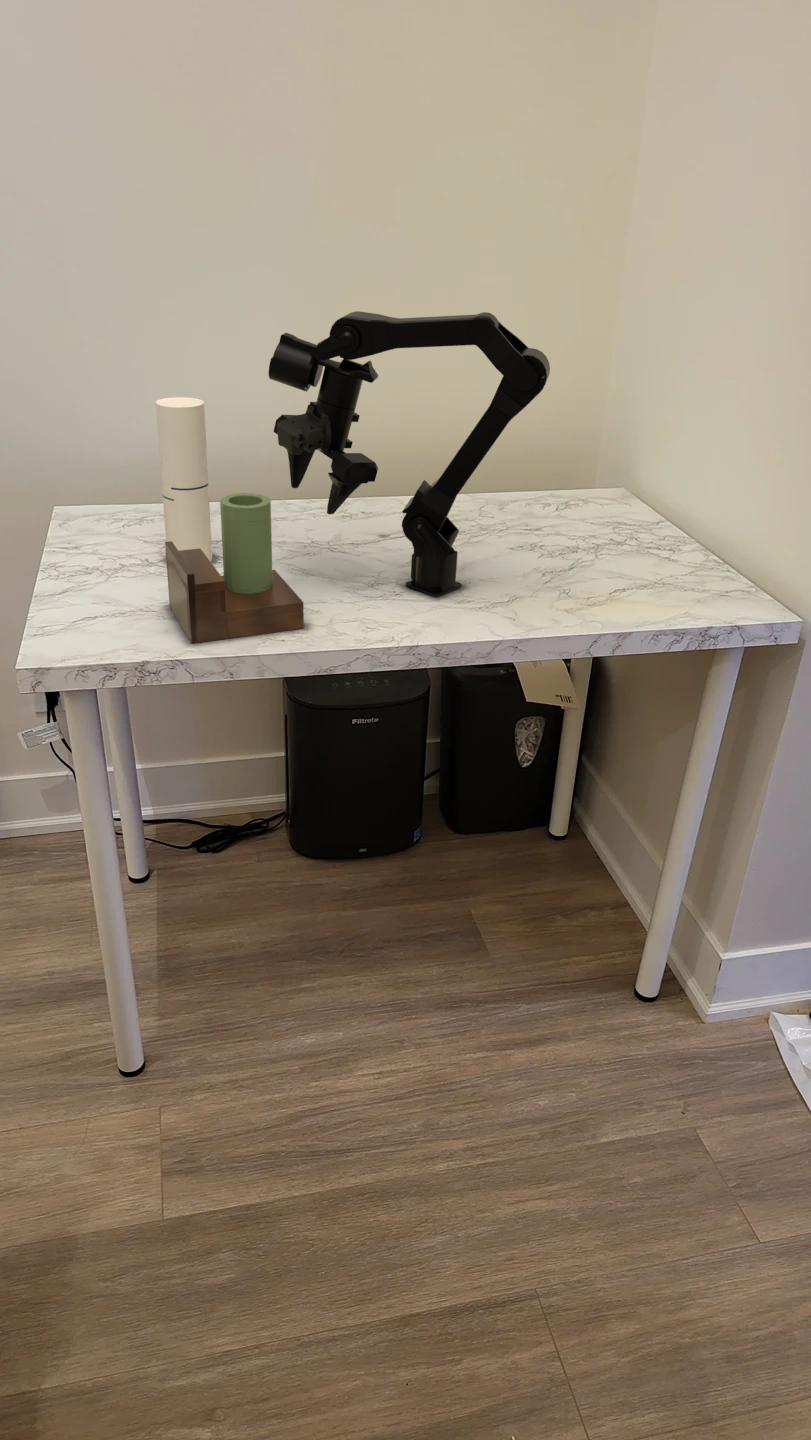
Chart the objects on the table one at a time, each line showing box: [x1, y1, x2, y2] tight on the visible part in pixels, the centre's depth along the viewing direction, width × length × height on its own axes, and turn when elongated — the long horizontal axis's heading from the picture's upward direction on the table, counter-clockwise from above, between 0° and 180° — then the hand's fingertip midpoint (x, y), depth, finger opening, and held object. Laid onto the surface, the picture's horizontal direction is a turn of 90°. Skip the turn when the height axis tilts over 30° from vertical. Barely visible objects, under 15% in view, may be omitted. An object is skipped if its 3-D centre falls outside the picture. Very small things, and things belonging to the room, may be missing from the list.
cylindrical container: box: [155, 396, 213, 563], centre depth 162 cm, size 7×7×25 cm
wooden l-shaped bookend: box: [164, 541, 305, 644], centre depth 146 cm, size 16×13×10 cm
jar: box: [219, 492, 273, 594], centre depth 146 cm, size 7×7×12 cm
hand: (312, 500), depth 159 cm, fingers open, 9 cm apart
